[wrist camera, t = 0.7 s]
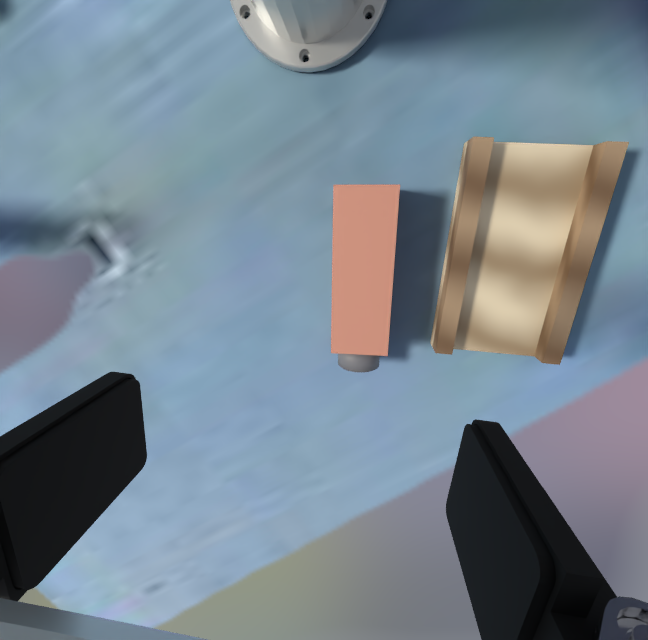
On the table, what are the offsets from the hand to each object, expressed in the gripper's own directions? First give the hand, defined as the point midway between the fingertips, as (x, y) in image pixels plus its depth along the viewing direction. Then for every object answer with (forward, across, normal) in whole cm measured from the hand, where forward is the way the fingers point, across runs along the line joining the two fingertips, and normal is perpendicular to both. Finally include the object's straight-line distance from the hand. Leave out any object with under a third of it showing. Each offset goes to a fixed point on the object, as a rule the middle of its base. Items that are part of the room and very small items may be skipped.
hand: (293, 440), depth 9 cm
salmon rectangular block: (+24, -2, -1) cm, 24 cm away
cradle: (+24, -15, -4) cm, 28 cm away
